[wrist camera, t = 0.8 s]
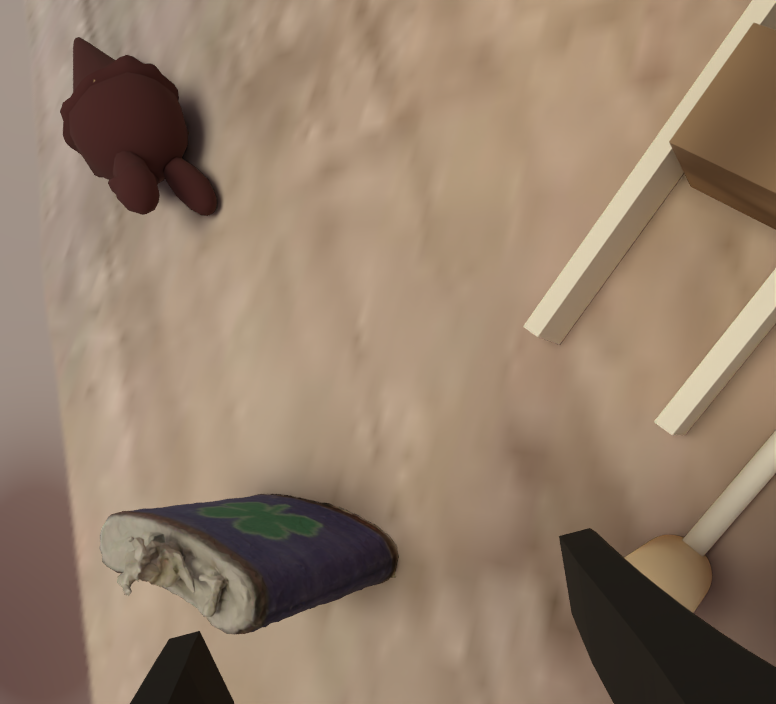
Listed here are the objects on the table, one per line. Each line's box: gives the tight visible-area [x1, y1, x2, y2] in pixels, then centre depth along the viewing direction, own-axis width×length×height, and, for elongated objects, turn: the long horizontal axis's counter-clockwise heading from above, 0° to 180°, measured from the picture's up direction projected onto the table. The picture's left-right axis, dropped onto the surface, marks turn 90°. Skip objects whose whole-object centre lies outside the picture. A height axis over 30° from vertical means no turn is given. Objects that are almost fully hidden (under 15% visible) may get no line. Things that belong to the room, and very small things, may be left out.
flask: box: [100, 494, 398, 634], centre depth 27 cm, size 9×3×11 cm, turn 79°
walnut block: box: [669, 23, 776, 229], centre depth 21 cm, size 4×4×4 cm
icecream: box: [60, 37, 217, 216], centre depth 38 cm, size 7×7×15 cm
